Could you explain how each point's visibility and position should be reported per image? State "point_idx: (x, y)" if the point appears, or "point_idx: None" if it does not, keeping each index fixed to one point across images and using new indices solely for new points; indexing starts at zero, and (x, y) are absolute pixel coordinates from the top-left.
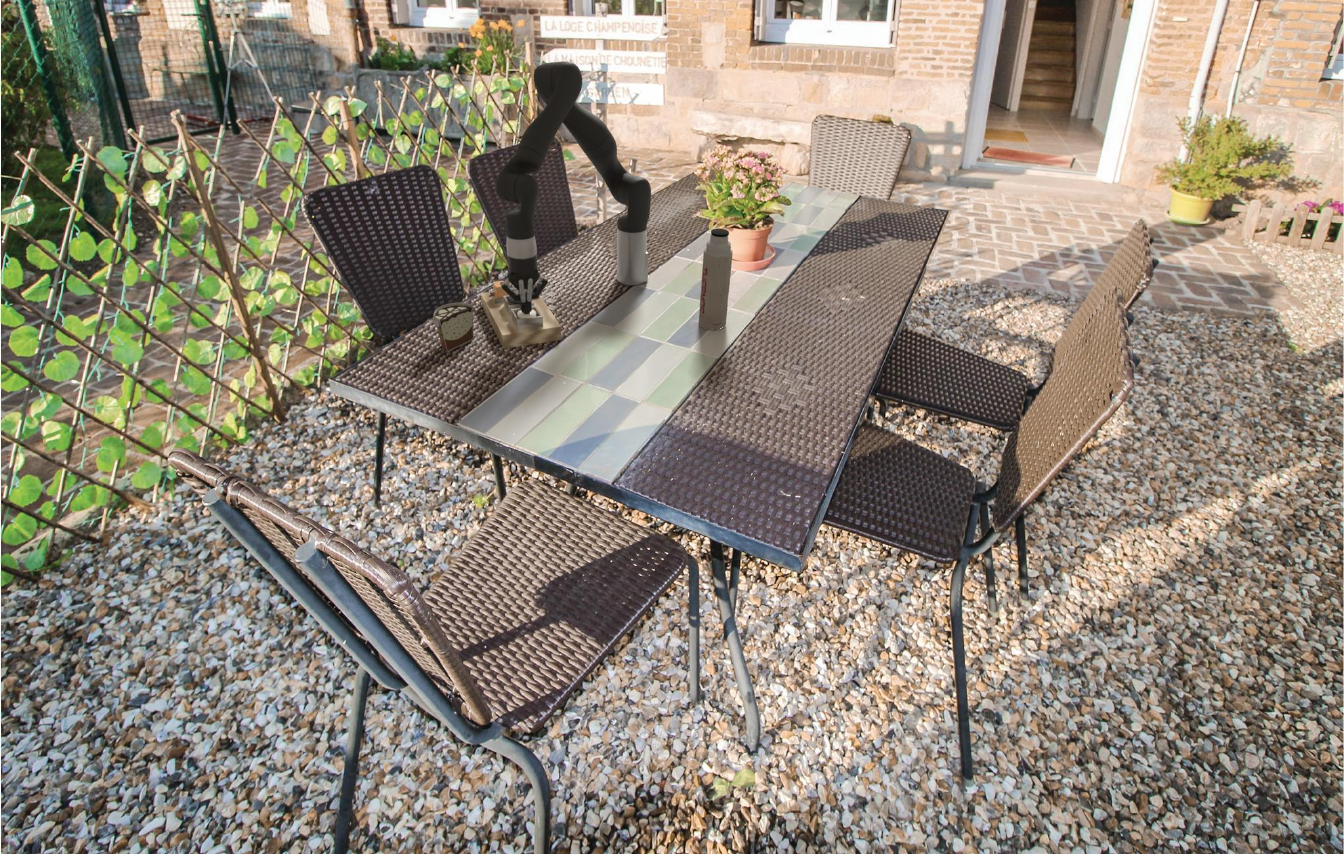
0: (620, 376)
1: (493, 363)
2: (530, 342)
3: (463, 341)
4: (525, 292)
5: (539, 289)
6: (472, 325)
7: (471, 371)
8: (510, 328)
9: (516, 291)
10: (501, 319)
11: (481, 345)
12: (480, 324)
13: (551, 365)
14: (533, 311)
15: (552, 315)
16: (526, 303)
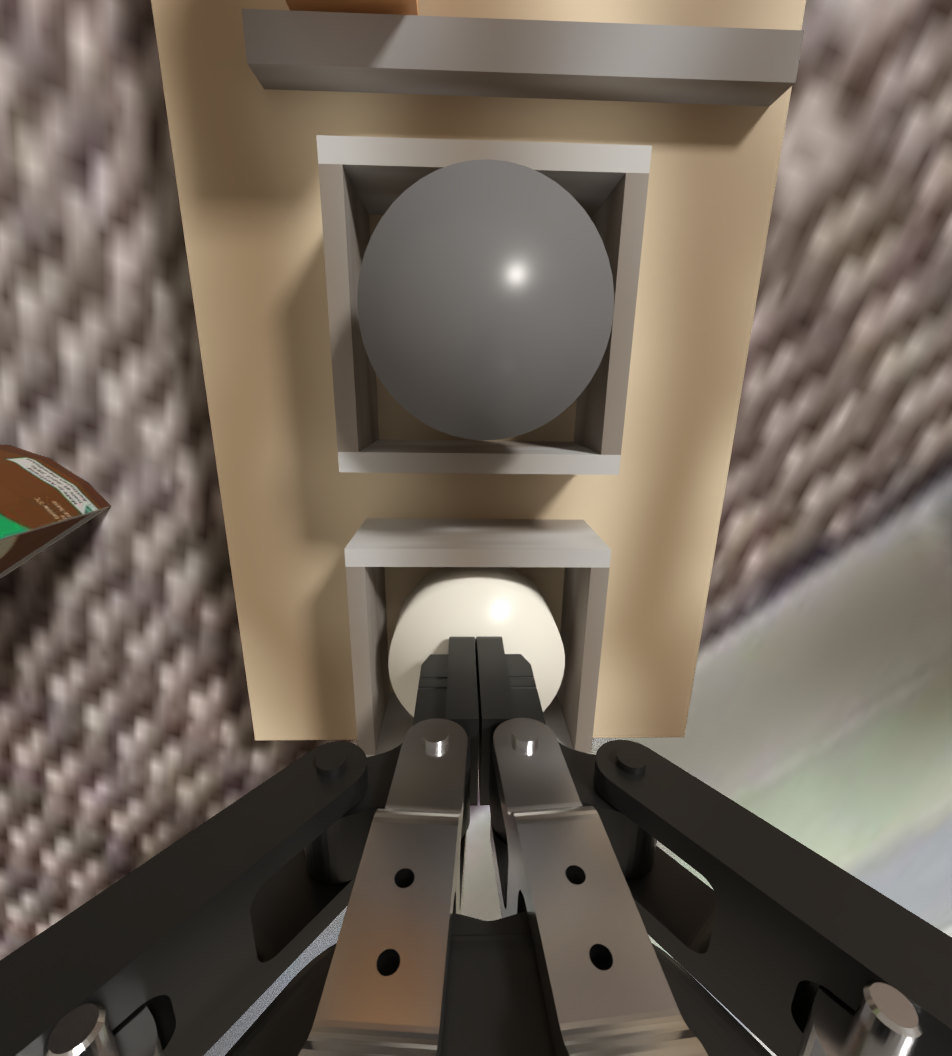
0: (735, 1018)
1: (216, 799)
2: None
3: (26, 554)
4: (504, 819)
5: (728, 982)
6: (21, 530)
7: (98, 835)
8: (328, 663)
9: (487, 211)
10: (280, 495)
11: (160, 598)
12: (166, 275)
13: (495, 885)
14: (547, 655)
15: (706, 558)
16: (476, 794)
